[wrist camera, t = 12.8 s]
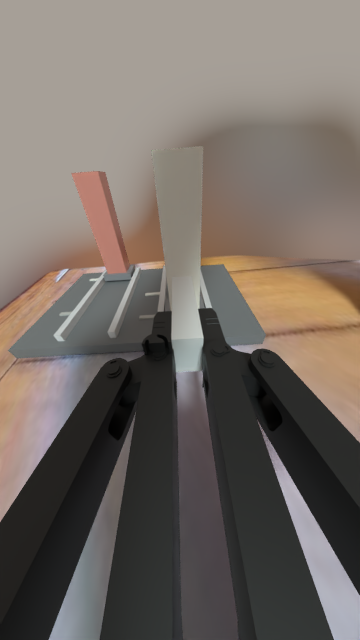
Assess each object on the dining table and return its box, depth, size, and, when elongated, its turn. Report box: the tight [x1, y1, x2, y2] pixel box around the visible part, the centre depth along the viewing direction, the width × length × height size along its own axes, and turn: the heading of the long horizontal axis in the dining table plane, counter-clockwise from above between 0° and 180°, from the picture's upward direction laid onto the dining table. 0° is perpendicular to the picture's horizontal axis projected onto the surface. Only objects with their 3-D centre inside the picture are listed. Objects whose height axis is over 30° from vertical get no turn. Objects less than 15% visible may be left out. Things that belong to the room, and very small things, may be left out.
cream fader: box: [151, 146, 205, 311], centre depth 17 cm, size 5×4×15 cm
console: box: [8, 264, 266, 358], centre depth 27 cm, size 30×21×2 cm
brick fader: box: [72, 171, 135, 281], centre depth 27 cm, size 5×4×15 cm
